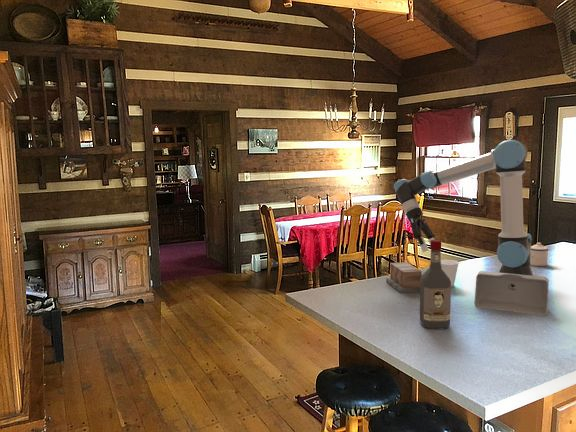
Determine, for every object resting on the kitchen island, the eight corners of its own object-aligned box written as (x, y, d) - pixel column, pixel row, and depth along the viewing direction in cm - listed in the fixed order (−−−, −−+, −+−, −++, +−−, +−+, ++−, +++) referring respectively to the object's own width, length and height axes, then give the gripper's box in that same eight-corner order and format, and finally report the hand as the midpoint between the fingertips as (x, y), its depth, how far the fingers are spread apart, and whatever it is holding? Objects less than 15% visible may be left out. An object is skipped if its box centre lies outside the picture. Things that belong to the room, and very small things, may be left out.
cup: (455, 282, 217) (455, 259, 216) (461, 288, 208) (461, 264, 206) (433, 282, 218) (433, 259, 217) (438, 288, 209) (438, 264, 207)
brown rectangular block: (386, 281, 222) (386, 263, 221) (410, 280, 223) (411, 262, 222) (399, 292, 204) (399, 272, 203) (425, 291, 205) (426, 271, 204)
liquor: (418, 320, 169) (419, 238, 166) (443, 319, 169) (445, 238, 165) (424, 329, 160) (426, 243, 157) (451, 329, 160) (453, 242, 156)
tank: (547, 303, 185) (548, 273, 183) (547, 316, 171) (548, 282, 169) (479, 296, 197) (480, 267, 195) (474, 307, 183) (474, 275, 181)
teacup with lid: (547, 263, 251) (548, 241, 249) (547, 266, 243) (548, 244, 241) (522, 261, 256) (523, 240, 255) (522, 265, 248) (522, 243, 247)
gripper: (415, 215, 234) (433, 254, 228) (394, 212, 215) (413, 254, 208) (429, 208, 230) (447, 247, 224) (409, 204, 211) (428, 247, 204)
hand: (431, 251), depth 216 cm, fingers open, 13 cm apart
